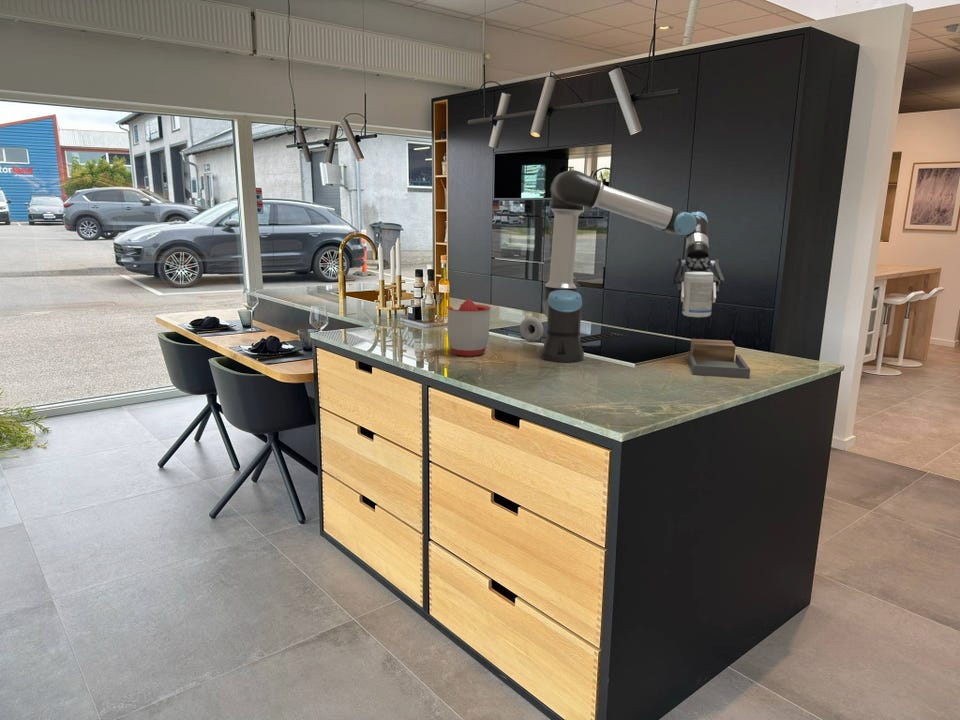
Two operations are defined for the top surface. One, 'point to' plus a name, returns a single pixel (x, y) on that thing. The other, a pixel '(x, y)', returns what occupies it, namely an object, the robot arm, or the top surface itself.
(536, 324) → the donut
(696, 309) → the supplement tub
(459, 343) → the citrus juicer
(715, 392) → the top surface
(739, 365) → the grey shallow rectangular tray
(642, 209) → the robot arm
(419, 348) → the top surface
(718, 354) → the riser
